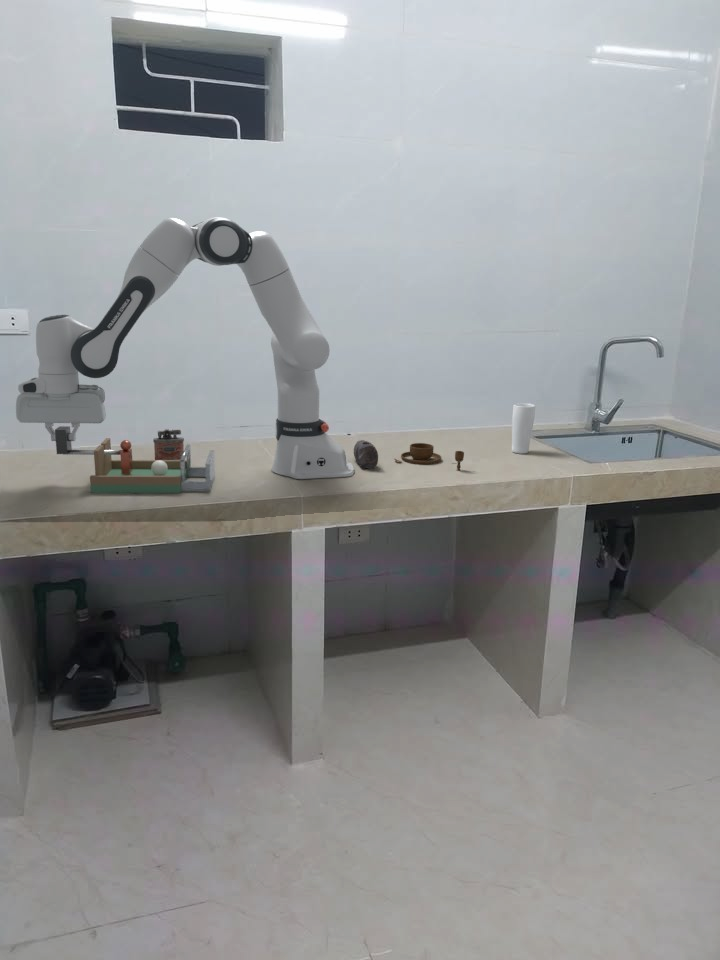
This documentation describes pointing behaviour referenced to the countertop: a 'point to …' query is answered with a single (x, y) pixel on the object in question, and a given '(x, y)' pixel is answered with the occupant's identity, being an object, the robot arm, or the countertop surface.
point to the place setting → (427, 455)
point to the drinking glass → (522, 427)
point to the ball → (159, 468)
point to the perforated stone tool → (365, 454)
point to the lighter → (168, 445)
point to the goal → (197, 473)
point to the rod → (66, 449)
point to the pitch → (133, 475)
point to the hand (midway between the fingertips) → (63, 440)
